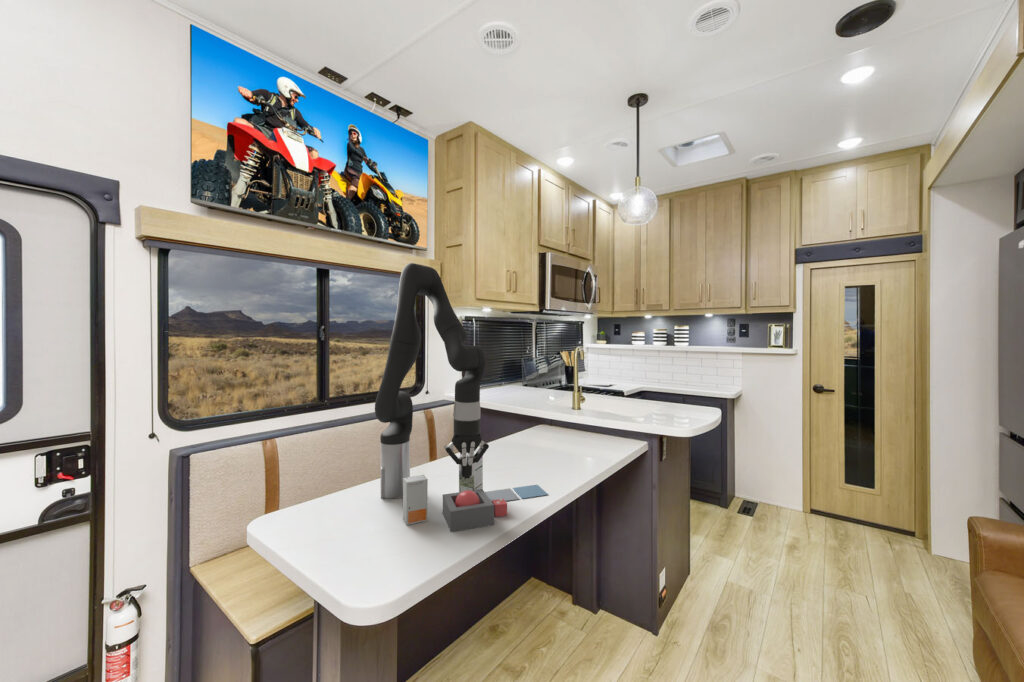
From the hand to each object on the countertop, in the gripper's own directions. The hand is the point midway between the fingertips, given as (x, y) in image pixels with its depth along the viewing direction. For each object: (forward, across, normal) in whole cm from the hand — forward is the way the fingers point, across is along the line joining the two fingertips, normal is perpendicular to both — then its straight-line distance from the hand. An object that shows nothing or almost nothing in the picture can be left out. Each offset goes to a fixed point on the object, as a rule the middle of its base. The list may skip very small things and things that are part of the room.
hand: (466, 477), depth 114 cm
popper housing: (+12, +3, 0) cm, 12 cm away
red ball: (+11, 0, 0) cm, 11 cm away
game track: (+12, +14, +12) cm, 22 cm away
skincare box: (+12, -14, +4) cm, 19 cm away
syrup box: (+12, +4, +12) cm, 17 cm away
